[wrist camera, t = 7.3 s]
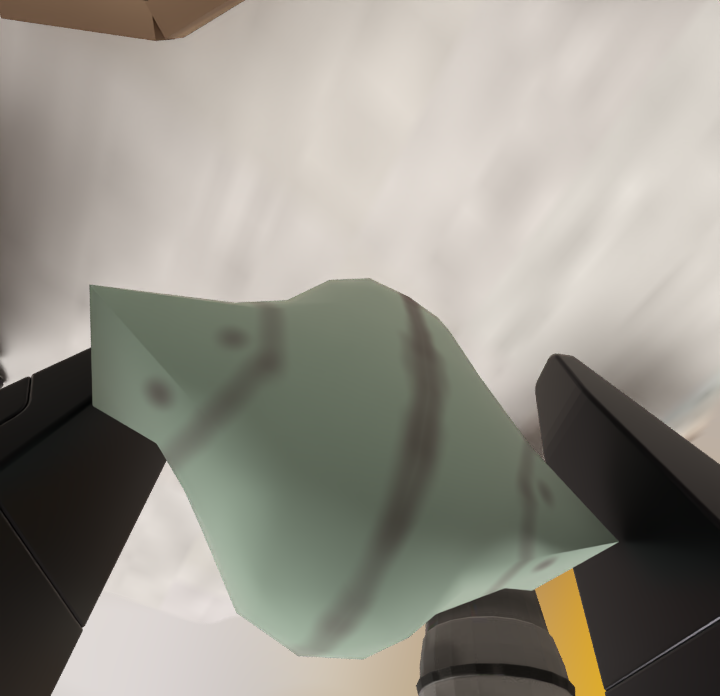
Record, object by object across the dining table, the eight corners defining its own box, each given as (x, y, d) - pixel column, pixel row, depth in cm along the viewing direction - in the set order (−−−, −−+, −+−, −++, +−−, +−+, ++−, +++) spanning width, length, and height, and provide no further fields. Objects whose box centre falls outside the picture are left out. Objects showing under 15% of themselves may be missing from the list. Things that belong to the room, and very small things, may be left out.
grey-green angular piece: (565, 335, 10) (751, 702, 4) (454, 434, 12) (489, 756, 7) (245, 138, 8) (-97, 359, 3) (185, 298, 10) (-66, 593, 5)
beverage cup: (470, 524, 32) (539, 1006, 17) (390, 489, 30) (381, 998, 15) (543, 477, 28) (725, 1052, 13) (455, 433, 26) (542, 1051, 11)
